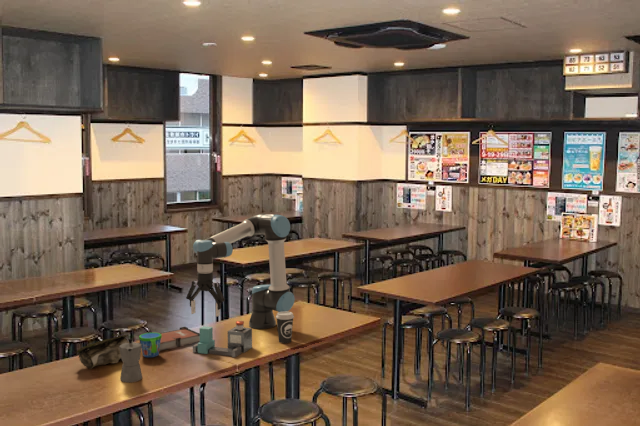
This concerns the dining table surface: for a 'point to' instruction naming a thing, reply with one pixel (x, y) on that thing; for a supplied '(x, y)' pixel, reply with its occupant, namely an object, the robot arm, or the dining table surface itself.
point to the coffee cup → (284, 326)
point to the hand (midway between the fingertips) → (205, 314)
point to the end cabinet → (240, 339)
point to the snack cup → (150, 344)
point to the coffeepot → (130, 361)
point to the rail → (221, 351)
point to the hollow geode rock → (102, 352)
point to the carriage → (206, 339)
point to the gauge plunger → (239, 325)
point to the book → (178, 338)
